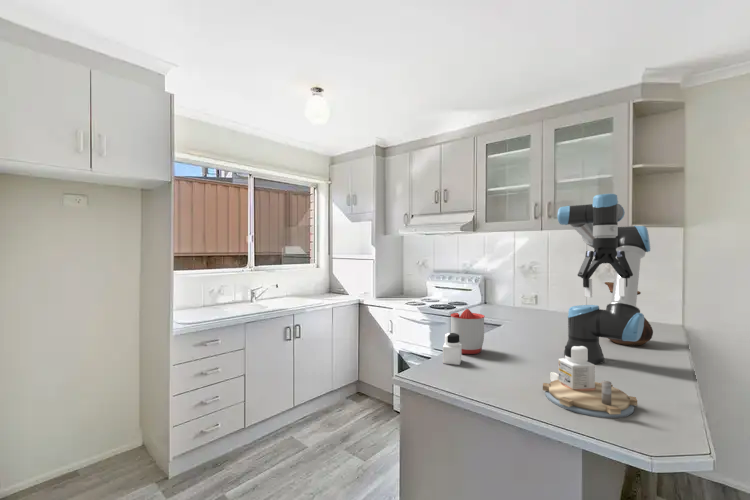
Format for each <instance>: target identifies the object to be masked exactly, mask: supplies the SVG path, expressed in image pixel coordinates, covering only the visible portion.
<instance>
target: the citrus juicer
mask: <svg viewBox="0 0 750 500" xmlns="http://www.w3.org/2000/svg"><path fill="white" fill-rule="evenodd" d="M450 333H456V334H458V335H459V344H461V345H462V355H463V354H464V355H475V354H476V355H478V354H479V353H481V352H482V350H483V345H484V340H485V315H484V314H481V313H476V312H472V311H471V310H470V309H469V308H466V309H465V310H463V311H462V313H461V314H460V313H458V312H453V313H451V314H450Z"/></svg>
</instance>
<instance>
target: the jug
mask: <svg viewBox="0 0 750 500" xmlns="http://www.w3.org/2000/svg"><path fill="white" fill-rule="evenodd" d="M604 284H605V286H607V287H608V290H609V293H611V294H613V286H614V282H610V281H609V282H608V281H605V282H604ZM641 293H642V292H641V291H639V290H638V291H637V296H638V295H641ZM653 334H654V330H653V327H652V325H651V324H650V322H649V321H648V320H647V319H646V317H645V316H644V327H643V332H642V335H641V337H640V339H639V340H638V341H635V342H633V341H623V340H617V339H610V338H607V339H608V340H610V342H613V343H615V344H618V345H623V346H642V345H644V344H646V343H647V342H650V340H652V339H653Z"/></svg>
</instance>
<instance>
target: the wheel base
mask: <svg viewBox="0 0 750 500" xmlns="http://www.w3.org/2000/svg"><path fill="white" fill-rule="evenodd" d="M549 377H550V379H549V380H550V382H552V381H554V380H559V373H556V372H555V371H552V372H550V375H549ZM545 397H546V398H547V399H548V401H550V402H551V403H553V404H555V405H556V406H558V407H561V408H563V409H565V410H567V411H569V412H570V411H571V412H574V413H577V414H581V415H585V416H590V417H596V418H608V419H609V418H610V419H611V418H613V419H615V418H624V417H628V416H631V415H632V414H633V413H634V412H635V405H630V406H629V407H628V408H627V409H625V410H621V414H609V413H607V412H606V411H595V410H589V409H584V408H579V407H576V406H571V407H568V406H565V405H563V404H560V400H558V399H556V398H555V397H553V396H552V395H551V394H550V393H549V391H545Z"/></svg>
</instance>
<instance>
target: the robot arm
mask: <svg viewBox="0 0 750 500" xmlns="http://www.w3.org/2000/svg"><path fill="white" fill-rule="evenodd" d="M618 199H619V198H618V195H617V194H616V193H602V194H601V193H600V194H596V195H594V196H593V198H592V203H590V204H578V205H577V204H576V205H574V204H573V205H567V206H566V205H565V206H560V207H559V208H558V209H557V222H558V224H559V225H562V226H563V225H565V226H567V225H568V226H569V225H570V226H571V227H572V228H573V229H574V230H575V231H576V232H577V233H578V234H579V235H580V236H581V239H582V242H584V243H585V244H586V245H588V246H589V247H591V248H593V250H587V251H585V255H584V256H585V257H584V259H583V261H582V263H581V266H580V267H579V270H578V273H577V277H579V278H581V279H582V287H583V288H584V297H586V298H593V278H591V277H592V276H593V275H594V272H596V271H597V269H598V268H599V266H600V265H602V264H609V265H611V266H612V268H613V269H614V270H615V272H614V278H613V279H614V281H613V283H614V286H613V293H611V294H612V295H611V302H610V303H609V302H608V304H606V309H601V307H600V306H599V305H597V304H582V305H573V306H570V307H569V308H568V314H567V323H568V324H567V325H568V326H567V327H568V328H567V329H568V330H567V331H568V332H567V333H568V335H567V336H568V338H567V339H568V340H567V342H566V345H568V344H579V345H583V346H585V347H586V348H587V349H588V360H587V361H588V362H590V363H592V364H594V365H596V364H602V363H604V362H605V356H604V353H603V349H602V348H601V343H600V338H603V339H608V338H610V339H617V340H623V341H633V342H635V341H638V340H639V339H640V337H641V335H642V332H643V327H644V317H645V315H644V314H643V313H642V312H641V309H640V308H639V307H638V306H637V299H638V295H637V291H639V290H638V288H639V278H640V266H641V259H643V258H644V257H645V256H646V253H650V252H651V243H650V236H649V230H648V228H647V227H646V226H645V225H632V226H631V225H628V226H618V222H620V221H622V220H623V218H624V217H625V209H624V207H623V206H622V205H621V204H619V201H618ZM610 339H609V340H610ZM563 357H564V358H565V349H564V350H563Z"/></svg>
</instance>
